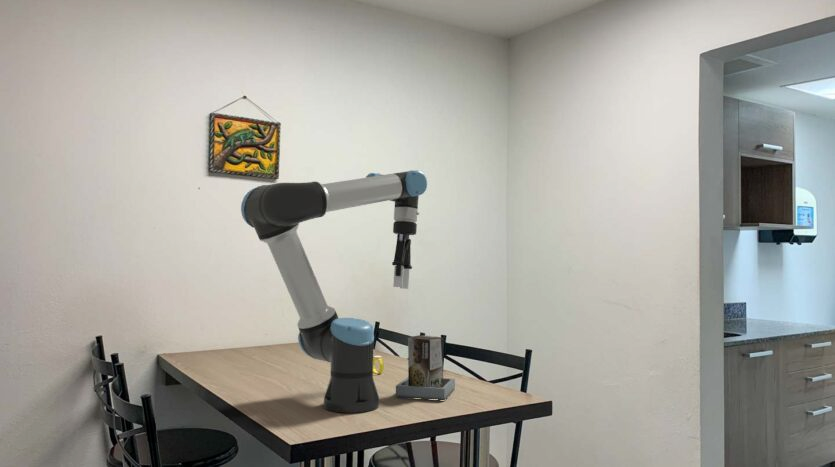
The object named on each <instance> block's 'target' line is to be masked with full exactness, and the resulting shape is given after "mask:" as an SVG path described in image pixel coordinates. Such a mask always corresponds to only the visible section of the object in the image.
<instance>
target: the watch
mask: <svg viewBox="0 0 835 467" xmlns="http://www.w3.org/2000/svg"><path fill="white" fill-rule="evenodd" d="M376 360H378V362H379V370H378V371H377V369H376V366H375V364H376V363H375V362H376ZM383 372H384V361H383V358H382V356H381V355H373V374H377V375H380V374H382V373H383Z"/></svg>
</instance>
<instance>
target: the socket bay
mask: <svg viewBox="0 0 835 467" xmlns="http://www.w3.org/2000/svg"><path fill="white" fill-rule="evenodd" d="M454 390H455V391H456V378H448V377H443V387H442V388H435V387H420V386H408V376H407V377H405V378H404V379H403V380H402V381H401V382H399V383H397V384H396V385H395V398H396V397H397V398H396V399H406V398H421V399H438V400H445V399H446V398H447V397H448V396H449V395H450V394H451V393H452V392H453V391H454ZM455 391H454V392H455ZM454 392H453V393H454ZM453 393H452V394H453ZM452 394H451V395H452ZM451 395H450V396H451ZM450 396H449V397H450ZM449 397H448V398H449ZM448 398H447V399H448ZM447 399H446V400H447ZM446 400H445V401H446Z"/></svg>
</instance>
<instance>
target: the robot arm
mask: <svg viewBox="0 0 835 467" xmlns="http://www.w3.org/2000/svg"><path fill="white" fill-rule="evenodd" d="M427 188H428V180H427V177H426V175H425V173H423V172H422V171H421V170H417V169H416V170H413V169H412V170H408V171H401V172H395V173H388V174H381V173H375V172H369V173H368V174H367V175H366V176H365V177H362V178H355V179H349V180H347V179H346V180H341V181H334V182H328V183H322V184H321V183H320V182H319V181H310V182H309V181H308V182H277V183H273V184H272V183H271V184H262V185H259V186H256V187H254V188H252V189H250V190H249V191H248V192H247V193H246V194H245V195H244V197H243V199H242V201H241V205H240V212H241V216H242V218H243V220H244V222H245V223H246V224H247V225H249V227H251V228H254V230H255V233H256V235H257V237H258V239H259V241H260V242H263V243H266V244H267V245H268V249H269V250H270V252H271V255H272V257H273V260H274V262H275V264H276V266H277V268H278V269H277V270H278V271H279V273H280V275H281V278H282V280H283V282H284V285H285V287H286V289H287V291H288V294H289V296H290V299H291V300H292V303H293V306H294V307H295V309H296V312H297V314H298V317H299V320H298V322H297V328H298V332H299V333H298V334H297V339H298V341H297V342H298V345H299V347H300V349H301V351H302V352H303V353H305V355H307V356H309V357H310V358H312V359H315V360H319V361H324V362H327V363H330V377H329V378H330V379H329V382H328V384H327V388H326V391H325V393H324V396H323V408H324V409H326V410H328V411H330V412H333V413H334V412H335V413H344V414H345V413H347V414H348V413H349V414H353V413H356V414H357V413H364V412H365V413H366V412H369V411H373V410H376V409H377V408H379V407H380V396H379V393H378V389H377V386H376V382H375V380H374V373H373V357H374V346H375V345H374V341H375V334H374V327H373V324H372V323H370V321H367V320H365V319H361V318H353V317H340V318H339V315H338V313H337V311H336V309H335V307H332V306H329V305H328V304H327V303H328V302H327V301H326V299H325V296H324V294H323V292H322V290H321V286H320V284H319V282H318V280H317V278H316V274H315V273H314V270H313V267H312V266H311V263H310V261H309V258H308V255H307V254H306V251H305V248H304V246H303V243H302V242H301V239H300V237H299V234H298V232H297V230H298V228H299V226H300V223H303V222H306V221H309V220H314V219H317V218H323V217H324V216H325V215H326V214H327V213H329V212H334V211H339V210H346V209H351V208H355V207H361V206H367V205H372V204H377V203H383V202H386V201H387V202H388V201H389V202H394V208H393V209H394V210H393V220H394V222H393V224H392V225H393V227H392V232H393V234H395V235H396V237H397V238H396V245H395V252H394V259H393V261H392V263H391V264H392V266H394V270H393V271H394V272H393V285H392V286H393V288H399V289H404V290H405V289H407V290H409V288H410V287H409V286H410V285H409V284H410V270H412V269H413V265H411V244H412V239H411V238H410V236H414V235H415V236H416V235H417V229H418V228H417V226H418V224H417V223H416V222H417V221H418V216H419V215H420V212H419V211H418V210H419V209H418V207H419V197H420V196H421V195H423V194H424V193H425V192H426V191H427Z"/></svg>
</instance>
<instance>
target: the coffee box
mask: <svg viewBox="0 0 835 467" xmlns="http://www.w3.org/2000/svg"><path fill="white" fill-rule="evenodd" d="M407 345H408V346H407V348H408V350H407V352H408V353H407V355H408V356H407V357H408V359H407V360H408V365H407V366H408V367H407V368H408V370H407V371H408V375H407V377H408V386H420V387H435V388H442V387H443V378H444V337H442V336H441V337H440V336H434V335H424V334H420V335H413V336H409V337H408V338H407Z"/></svg>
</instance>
